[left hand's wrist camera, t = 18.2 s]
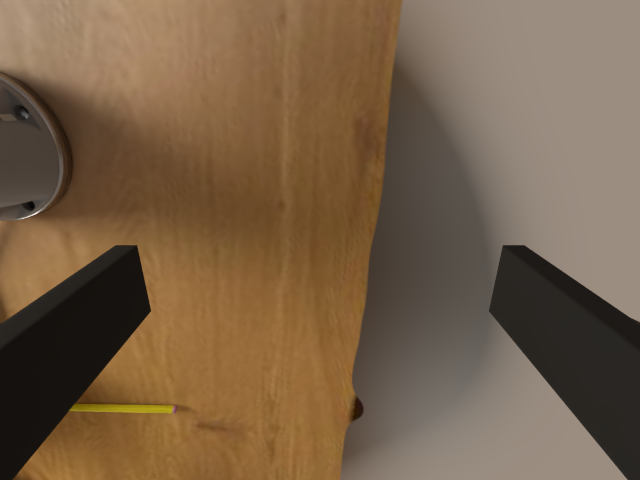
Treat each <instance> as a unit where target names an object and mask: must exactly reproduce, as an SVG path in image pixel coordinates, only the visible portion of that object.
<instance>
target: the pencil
mask: <svg viewBox="0 0 640 480" xmlns="http://www.w3.org/2000/svg"><path fill="white" fill-rule="evenodd" d="M176 410H177V406H174V405H126V404H78V403H75V404H74V405H73V407H72V408H71V409H70V410H69V411H95V412H142V413H176Z"/></svg>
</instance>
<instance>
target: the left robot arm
mask: <svg viewBox="0 0 640 480" xmlns="http://www.w3.org/2000/svg"><path fill="white" fill-rule="evenodd" d="M71 173H72V157H71V151H70V147H69V143H68V140H67V138H66V135H65V133H64V131H63V128H62V127H61V125H60V123H59V121H58V120H57V118H56V117H55V115H54V114H53V112H52V111H51V110H50V108H49V107H48V106H47V105H46V104H45V103H44V102H43V100H42V99H41V98H39V97H38V96H37V95H36V94H35V93H34V92H33V91H32V90H30V89H29V88H28V87H26V86H25V85H24V84H22V83H21V82H19V81H17V80H16V79H14V78H12V77H10V76H8V75H6V74H3V73H1V72H0V220H19V219H24V218H27V217H30V216H33V215H35V214H38V213H41V212H43V211H45V210H47V209H49V208H51V207H52V206H54V205H55V204H56V203H57V202H58V201H59V200H60V199H61V198H62V197H63V195H64V194H65V192H66V190H67V188H68V185H69V183H70V179H71ZM150 312H151V309H150V304H149V299H148V294H147V290H146V285H145V280H144V276H143V271H142V266H141V262H140V257H139V252H138V248H137V245H116V246H114V247H113V248H111V249H110V250H108V251H107V252H105V253H104V254H102V255H101V256H99V257H98V258H97V259H95V260H94V261H92V262H91V263H89V264H88V265H86V266H85V267H83V268H82V269H80V270H79V271H78V272H76V273H75V274H73V275H72V276H70V277H69V278H67V279H66V280H64V281H63V282H61V283H60V284H59V285H57V286H56V287H54V288H53V289H51V290H50V291H48V292H47V293H45V294H44V295H42V296H41V297H40V298H38V299H37V300H35V301H34V302H32V303H31V304H29V305H28V306H26V307H25V308H23V309H22V310H21V311H19V312H18V313H16V314H15V315H13V316H12V317H10V318H9V319H7V320H6V321H4V322H3V323H1V324H0V480H12V479H13V478H14V477H15V476H16V475H17V473H18V472H19V471H20V470H21V469H22V467H23V466H24V465H25V464H26V462H27V461H28V460H29V459H30V458H31V456H32V455H33V454H34V453H35V452H36V450H37V449H38V448H39V447H40V445H41V444H42V443H43V442H44V441H45V439H46V438H47V437H48V436H49V434H50V433H51V432H52V431H53V430H54V428H55V427H56V426H57V425H58V424H59V422H60V421H61V420H62V419H63V417H64V416H65V415H66V414H67V413H68V411H69V410H70V409H71V408H72V407H73V405H74V404H75V403H76V402H77V400H78V399H79V398H80V397H81V396H82V394H83V393H84V392H85V391H86V389H87V388H88V387H89V386H90V385H91V383H92V382H93V381H94V380H95V379H96V377H97V376H98V375H99V374H100V372H101V371H102V370H103V369H104V368H105V366H106V365H107V364H108V363H109V362H110V360H111V359H112V358H113V357H114V355H115V354H116V353H117V352H118V351H119V349H120V348H121V347H122V346H123V344H124V343H125V342H126V341H127V340H128V338H129V337H130V336H131V335H132V334H133V332H134V331H135V330H136V329H137V327H138V326H139V325H140V324H141V323H142V321H143V320H144V319H145V318H146V317H147V315H148V314H149V313H150ZM489 312H490V313H491V314H492V315H493V316H494V318H495V319H496V320H497V321H498V323H499V324H500V325H501V326H502V327H503V329H504V330H505V331H506V332H507V334H508V335H509V336H510V337H511V338H512V340H513V341H514V342H515V343H516V344H517V346H518V347H519V348H520V349H521V351H522V352H523V353H524V354H525V355H526V357H527V358H528V359H529V360H530V362H531V363H532V364H533V365H534V366H535V368H536V369H537V370H538V371H539V372H540V374H541V375H542V376H543V377H544V379H545V380H546V381H547V382H548V383H549V385H550V386H551V387H552V388H553V389H554V391H555V392H556V393H557V394H558V396H559V397H560V398H561V399H562V400H563V402H564V403H565V404H566V405H567V407H568V408H569V409H570V410H571V411H572V413H573V414H574V415H575V416H576V417H577V419H578V420H579V421H580V422H581V424H582V425H583V426H584V427H585V428H586V430H587V431H588V432H589V433H590V434H591V436H592V437H593V438H594V439H595V441H596V442H597V443H598V444H599V445H600V447H601V448H602V449H603V450H604V451H605V453H606V454H607V455H608V456H609V458H610V459H611V460H612V461H613V462H614V464H615V465H616V466H617V467H618V469H619V470H620V471H621V472H622V473H623V475H624V476H625V477H626V478H627V479H628V480H640V322H638V321H636V320H634V319H632V318H630V317H628V316H627V315H625V314H624V313H622V312H621V311H619V310H618V309H617V308H615V307H614V306H612V305H611V304H609V303H608V302H606V301H605V300H603V299H602V298H600V297H599V296H598V295H596V294H595V293H593V292H592V291H590V290H589V289H587V288H586V287H584V286H583V285H581V284H580V283H578V282H577V281H576V280H574V279H573V278H571V277H570V276H568V275H567V274H565V273H564V272H562V271H561V270H560V269H558V268H557V267H555V266H554V265H552V264H551V263H549V262H548V261H546V260H545V259H543V258H542V257H540V256H539V255H538V254H536V253H535V252H533V251H532V250H530V249H529V248H527V247H526V246H524V245H503V248H502V252H501V257H500V262H499V267H498V271H497V276H496V280H495V285H494V290H493V294H492V299H491V304H490V309H489Z"/></svg>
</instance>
